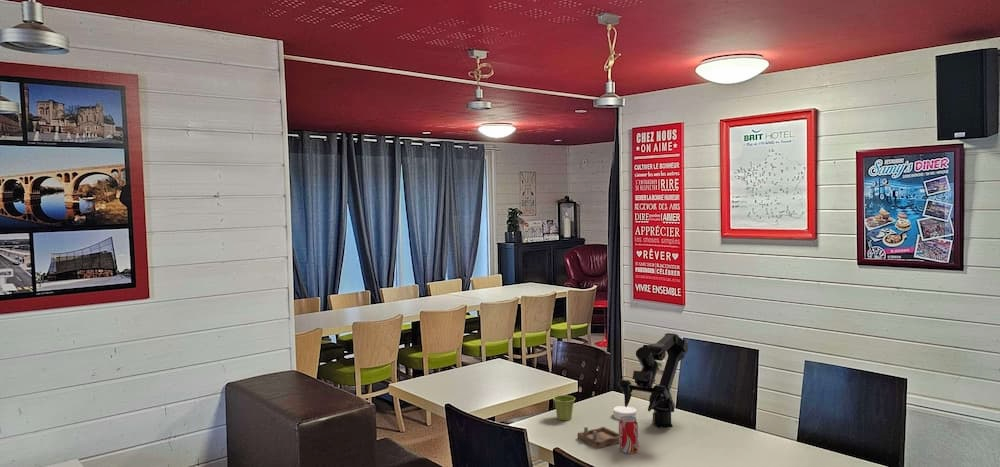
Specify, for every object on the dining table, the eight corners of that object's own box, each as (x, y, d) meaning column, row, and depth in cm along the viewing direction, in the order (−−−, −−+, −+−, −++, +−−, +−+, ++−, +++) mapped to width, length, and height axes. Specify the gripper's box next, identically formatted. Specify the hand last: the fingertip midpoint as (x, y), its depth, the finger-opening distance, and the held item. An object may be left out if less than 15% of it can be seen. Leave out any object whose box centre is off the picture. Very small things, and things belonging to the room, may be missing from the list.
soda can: (633, 456, 228) (633, 423, 228) (615, 451, 233) (615, 419, 232) (641, 450, 234) (641, 417, 233) (624, 445, 238) (623, 414, 238)
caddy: (603, 432, 253) (603, 419, 253) (624, 441, 242) (624, 428, 242) (577, 438, 246) (577, 425, 246) (597, 448, 236) (597, 435, 236)
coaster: (636, 421, 265) (636, 413, 265) (612, 420, 267) (612, 412, 267) (636, 414, 275) (636, 406, 275) (613, 412, 277) (613, 404, 277)
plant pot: (549, 416, 272) (549, 396, 272) (568, 413, 276) (567, 393, 276) (560, 423, 264) (560, 402, 263) (579, 420, 268) (579, 399, 267)
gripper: (619, 358, 248) (607, 393, 240) (666, 365, 238) (654, 401, 229) (628, 374, 255) (616, 408, 246) (673, 381, 244) (662, 417, 236)
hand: (636, 408), depth 239 cm, fingers open, 9 cm apart
